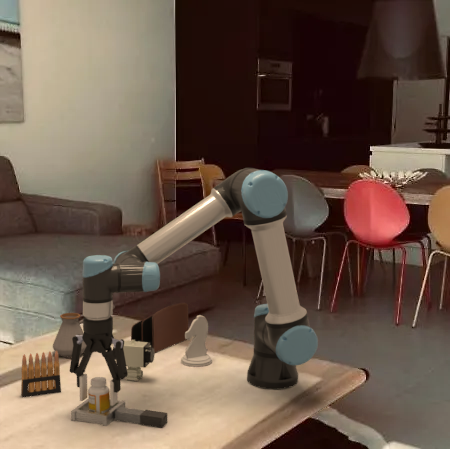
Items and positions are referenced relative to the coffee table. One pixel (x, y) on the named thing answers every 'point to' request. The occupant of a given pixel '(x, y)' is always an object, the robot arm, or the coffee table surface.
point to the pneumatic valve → (136, 358)
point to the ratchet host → (119, 415)
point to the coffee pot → (68, 334)
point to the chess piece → (197, 344)
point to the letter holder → (163, 327)
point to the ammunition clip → (40, 376)
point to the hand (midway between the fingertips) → (98, 401)
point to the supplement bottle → (99, 396)
